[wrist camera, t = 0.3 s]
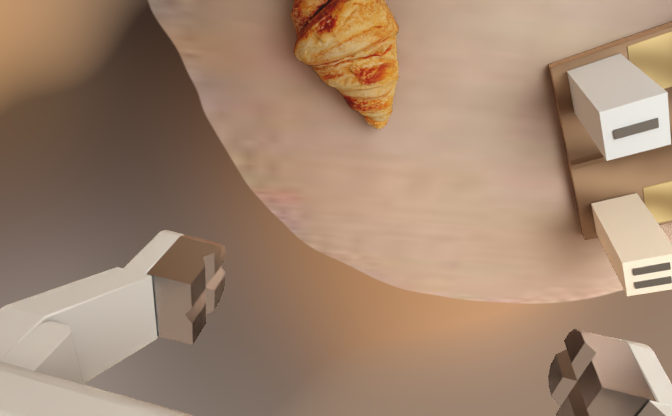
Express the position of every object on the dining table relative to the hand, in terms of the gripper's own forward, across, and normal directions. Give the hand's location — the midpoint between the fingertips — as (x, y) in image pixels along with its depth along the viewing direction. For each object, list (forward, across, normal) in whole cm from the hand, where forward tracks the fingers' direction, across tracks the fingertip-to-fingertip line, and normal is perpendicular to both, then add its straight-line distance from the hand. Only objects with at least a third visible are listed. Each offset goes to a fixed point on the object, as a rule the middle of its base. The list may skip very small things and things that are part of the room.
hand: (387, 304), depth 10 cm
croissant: (+40, +8, +1) cm, 40 cm away
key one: (+39, -17, +1) cm, 42 cm away
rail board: (+41, -23, +7) cm, 47 cm away
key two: (+40, -26, +15) cm, 50 cm away
